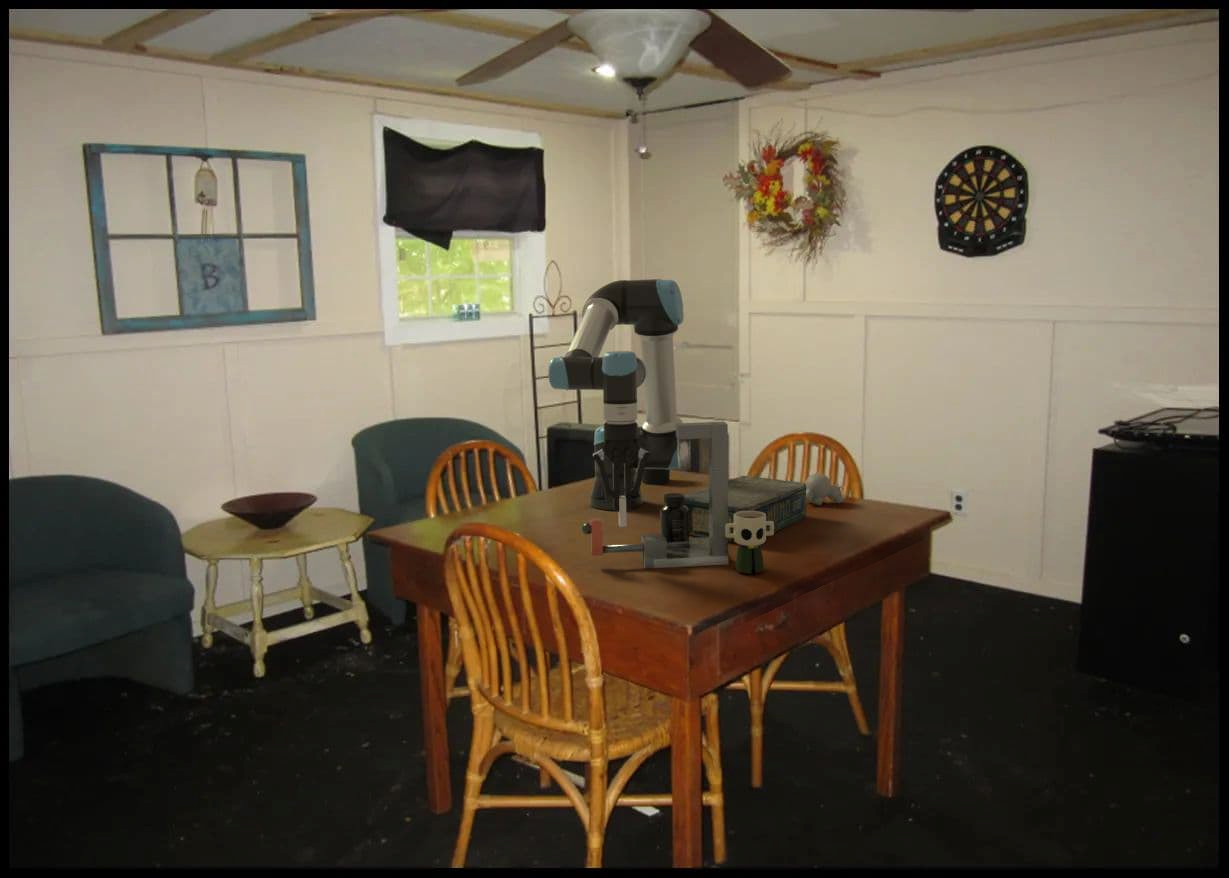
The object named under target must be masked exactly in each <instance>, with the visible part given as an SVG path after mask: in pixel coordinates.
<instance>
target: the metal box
mask: <svg viewBox="0 0 1229 878" xmlns="http://www.w3.org/2000/svg"><path fill="white" fill-rule="evenodd" d="M805 483H806V482H803V481H802V482H801V481H796V480H795V481H793V480H783V479H778V478H776V479H775V478H768V477H758V476H757V477H756V476H750V477H749V476H747V475H740V476H738V477H734V478H732V479H729V480H728V523H734V513H736V512H739V511H759V512H763V513H765V514H766V521H773V522H774V533H775V532H778V531H780V530H782V529H784V528H787V527H789V526H791V525H794V524H796V523H798V522H800V521H802V520H804V519H806V518H807V500H806V484H805ZM683 495H684V500H685V503H684V505H685V506H687V507H688V509H689V536H693V537H696V538H703V537H709V486H707V487H704V488H701V489H699V490H696V491H692V492H690V493H686V494H683ZM793 523H794V524H793ZM767 531H770V525H766V532H767ZM732 533H734V527H730V534H732ZM728 543H734V544H737V543H736V542H735V541H734V538H728Z"/></svg>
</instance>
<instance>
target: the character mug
mask: <svg viewBox="0 0 1229 878" xmlns="http://www.w3.org/2000/svg"><path fill="white" fill-rule="evenodd" d="M766 525H770V531H767V532H766ZM730 527H734V533H732V534H730ZM774 533H775V532H774V522H773V521H766V514H765V513H763V512H759V511H739V512H736V513H734V523H728V524H726V526H725V536H726V538H734V541H735V542H736V543H735V544H738V546H737V552H736V560H735V570H736V571H738V572H739V573H743V574H752V571H755V573H756V574H758V573H761V572H763V571H764V570H765V567H764V566H765V565H764V558H763V550H762V546H761V545H763V544H764V543H766V540H767V536H768V537H769V536H771V537H772V536H774Z"/></svg>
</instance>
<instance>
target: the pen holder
mask: <svg viewBox="0 0 1229 878" xmlns="http://www.w3.org/2000/svg"><path fill="white" fill-rule="evenodd" d="M670 471H671V469H669V470H667V469H644V472H643V477H642V481H641V483H643V484H645V483H646V484H645V485H650V484H659V485H665V483H666V484H668V483H669V482H670V474H671V473H670Z"/></svg>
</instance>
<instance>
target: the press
mask: <svg viewBox="0 0 1229 878" xmlns="http://www.w3.org/2000/svg"><path fill="white" fill-rule="evenodd" d="M728 426H729V425H728V423H727V422H725V421H709V422H708V421H707V422H706V421H705V422H683V423H676V437H677V438H678V469H677V470H681V471H682V470H683V471H686V470H691V440H695V439H697V440H698V439H708V487H709V537H689V540H690V541H689V545H690V548H689V549H686V550H667V540H666V538H665V537H664V535H663V534H661V533H653V534H651V533H650V534H641V536H640V537H641V544H644V552H641V562H642V564H643V567H644V569H660V568H664V569H665V568H680V567H681V568H683V567H699V566H700V567H701V566H721V565H722V566H723V565H724V566H725V565H729V542H728V538H726V536H725V526H726V524H728V481H729V480H728V479H729V474H728V473H729V466H728V463H729V460H728V459H729V458H728V457H729V456H728V455H729V454H728V453H729V450H728V448H729V447H728V444H729V443H728V442H729V441H728V440H729V439H728V438H729V437H728V434H729V431H728V430H729V429H728V428H729V427H728Z"/></svg>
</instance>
